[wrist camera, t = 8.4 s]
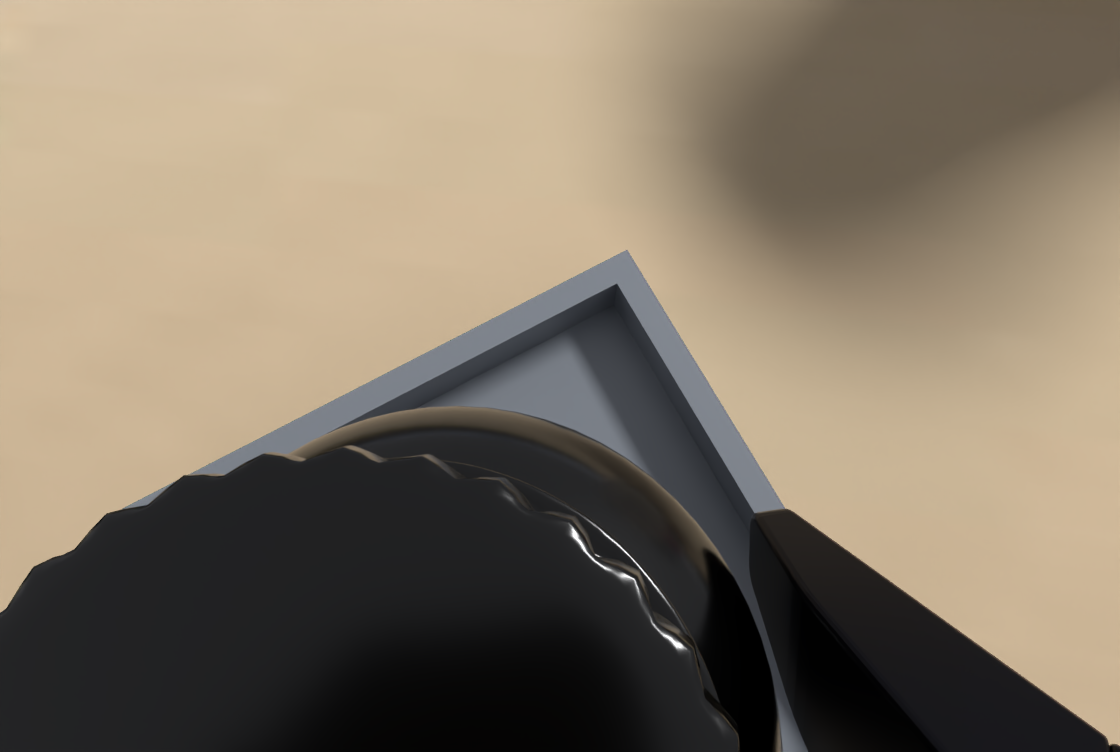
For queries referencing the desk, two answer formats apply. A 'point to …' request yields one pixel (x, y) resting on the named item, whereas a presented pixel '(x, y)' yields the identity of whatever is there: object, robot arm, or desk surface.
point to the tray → (584, 406)
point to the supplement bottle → (394, 607)
